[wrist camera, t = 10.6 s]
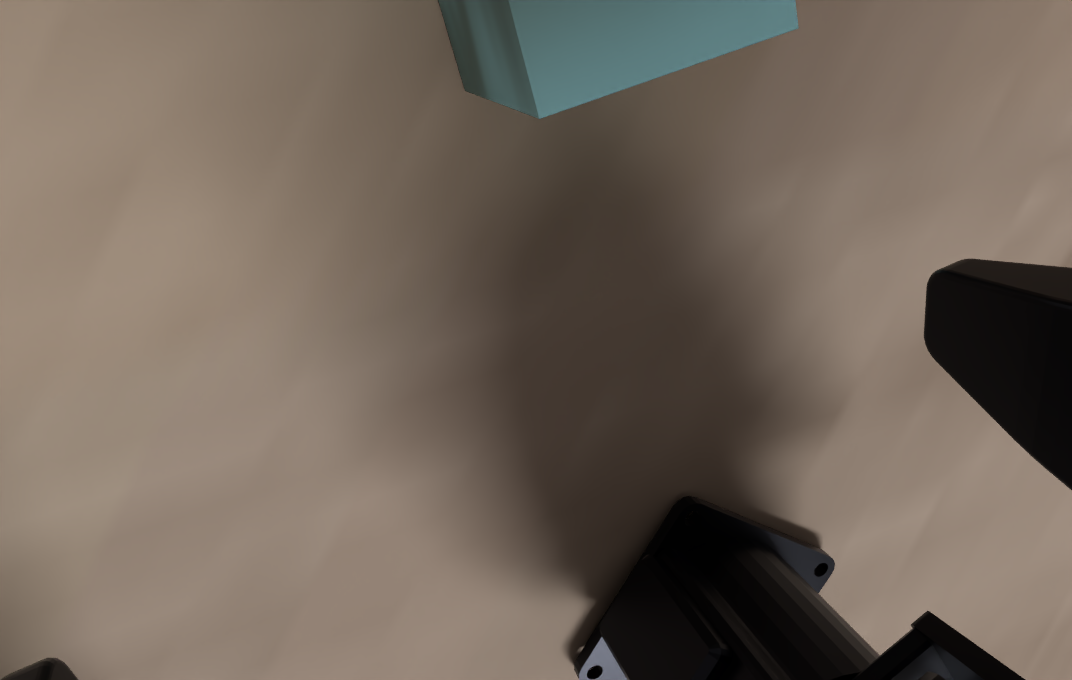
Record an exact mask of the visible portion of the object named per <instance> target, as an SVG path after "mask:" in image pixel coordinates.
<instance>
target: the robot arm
mask: <svg viewBox="0 0 1072 680" xmlns="http://www.w3.org/2000/svg"><path fill="white" fill-rule="evenodd" d="M924 340H925V344H926V347H927V349H928V351H929V353H930V354H931V356H932V357H933V358H934V359H935V361H936V362H937V363H938V364H939V365H940V366H941V367H942V368H943V369H944V370H945V371H946V372H947V373H948V374H949V375H950V376H951V377H952V378H953V379H954V380H955V381H956V382H957V383H958V384H959V385H960V386H961V387H962V388H963V389H964V390H965V391H966V392H967V393H968V394H969V395H970V396H971V397H972V398H973V399H974V400H975V401H976V402H977V403H978V404H979V405H980V406H981V407H982V408H983V409H984V410H985V411H986V412H987V413H988V414H989V415H990V416H991V417H992V418H993V419H994V420H995V421H996V422H997V423H998V424H999V425H1000V426H1001V427H1002V428H1003V429H1004V430H1005V431H1006V432H1007V433H1008V434H1009V435H1010V436H1011V437H1012V438H1013V439H1014V440H1015V441H1016V442H1017V443H1018V444H1019V445H1020V446H1021V447H1022V448H1024V449H1025V450H1026V451H1027V452H1028V453H1029V454H1030V455H1031V456H1032V457H1033V458H1034V459H1035V460H1037V461H1038V462H1039V463H1040V464H1041V465H1042V466H1043V467H1045V468H1046V469H1047V470H1048V471H1049V472H1050V473H1052V474H1053V475H1054V476H1055V477H1056V478H1058V479H1059V480H1060V481H1061V482H1062V483H1064V484H1065V485H1066V486H1067V487H1068V488H1070V489H1071V490H1072V268H1068V267H1057V266H1046V265H1035V264H1024V263H1013V262H1002V261H991V260H980V259H964V260H960V261H957V262H955V263H953V264H951V265H948V266H946V267H944V268H941V269H939V270H937V271H935V272H934V273H933V274H932V275H931V277H930V278H929V280H928V283H927V290H926V307H925V324H924ZM692 511H694V512H693V514H692V515H691V516H690V517H689V518H687V519H685V518H686V516H687V515H688V514H689V513H690V512H692ZM834 565H835V563H834V560H833V559H832V558H831V557H830V556H829V555H828V554H827V553H826V552H825V551H823V550H822V549H820V548H817V547H815V546H812V545H810V544H808V543H805V542H803V541H800V540H798V539H796V538H793V537H791V536H788V535H786V534H784V533H781V532H779V531H776V530H774V529H771V528H769V527H767V526H764V525H762V524H759V523H757V522H755V521H752V520H750V519H747V518H745V517H743V516H740V515H738V514H735V513H733V512H730V511H728V510H726V509H723V508H721V507H718V506H716V505H714V504H711V503H709V502H706V501H704V500H701V499H699V498H697V497H693V496H688V497H684V498H682V499H680V500H679V501H677V503H676V504H675V505H674V506H673V508H672V509H671V511H670V512H669V514H668V515H667V517H666V519H665V520H664V522H663V523H662V525H661V527H660V528H659V530H658V531H657V533H656V534H655V536H654V538H653V539H652V541H651V542H650V544H649V546H648V547H647V549H646V550H645V552H644V553H643V555H642V557H641V558H640V560H639V561H638V563H637V565H636V566H635V568H634V569H633V571H632V572H631V574H630V576H629V577H628V579H627V580H626V582H625V584H624V585H623V587H622V588H621V590H620V591H619V593H618V595H617V596H616V598H615V599H614V601H613V603H612V604H611V606H610V607H609V609H608V610H607V612H606V614H605V615H604V617H603V618H602V620H601V622H600V623H599V625H598V626H597V628H596V629H595V631H594V633H593V634H592V636H591V637H590V639H589V641H588V642H587V644H586V645H585V647H584V648H583V650H582V652H581V653H580V655H579V656H578V658H577V660H576V662H575V664H574V670H575V672H576V674H577V676H578V678H579V680H1025V679H1024V678H1022V677H1021V676H1019V675H1018V674H1017V673H1015V672H1014V671H1012V670H1011V669H1009V668H1008V667H1007V666H1005V665H1004V664H1002V663H1001V662H1000V661H998V660H997V659H995V658H994V657H993V656H991V655H990V654H988V653H987V652H986V651H984V650H983V649H981V648H980V647H979V646H977V645H976V644H974V643H973V642H972V641H970V640H969V639H967V638H966V637H965V636H963V635H962V634H960V633H959V632H957V631H956V630H955V629H953V628H952V627H950V626H949V625H948V624H946V623H945V622H943V621H942V620H941V619H939V618H938V617H936V616H935V615H934V614H932V613H931V612H929V611H927V612H925V613H924V614H923V615H922V616H921V617H919V618H918V619H917V620H916V621H915V622H913V623H912V624H911V626H912V628H913V629H911V630H910V631H909V632H908V633H907V634H905V635H904V636H903V637H902V638H901V639H899V640H898V641H897V642H896V643H895V644H893V645H892V646H891V647H890V648H889V649H887V650H886V651H885V652H884V653H883V654H882V655H879V654H878V653H877V652H876V651H875V650H874V649H873V648H872V647H871V646H870V645H869V644H868V643H867V642H866V641H865V640H864V639H863V638H862V637H861V636H860V635H859V634H858V633H857V632H856V631H855V630H854V629H853V628H852V627H851V626H850V625H849V624H848V623H847V622H846V621H845V620H844V619H843V618H842V617H841V616H840V615H839V614H838V613H837V612H836V611H835V610H834V609H833V608H832V607H831V606H830V605H829V604H828V603H827V602H826V601H825V600H824V599H823V598H822V597H821V596H820V595H819V594H818V593H819V592H820V590H821V589H822V587H823V586H824V584H825V583H826V581H827V580H828V578H829V577H830V576H831V574H832V572H833V570H834ZM595 665H596V666H595ZM593 666H595V667H594V668H593V669H591V670H589V669H590V668H591V667H593ZM1 680H78V679H77V677H76V676H75V675H74V674H73V672H72V671H71V670H70V669H69V667H68V666H67V665H66V664H65V663H64V662H63V661H61V660H59V659H58V658H46V659H43V660H41V661H38V662H36V663H34V664H32V665H29V666H27V667H25V668H22V669H20V670H18V671H15V672H13V673H11V674H9V675H7V676H6V677H4V678H2V679H1Z"/></svg>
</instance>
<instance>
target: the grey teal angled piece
mask: <svg viewBox="0 0 1072 680" xmlns="http://www.w3.org/2000/svg"><path fill="white" fill-rule="evenodd" d="M438 1H439V5H440V8H441V11H442V15H443V18H444V22H445V25H446V28H447V32H448V35H449V38H450V42H451V45H452V48H453V52H454V55H455V58H456V62H457V65H458V69H459V72H460V75H461V79H462V82H463V85H464V89H465V91H467V92H470V93H473V94H475V95H478V96H480V97H483V98H486V99H488V100H491V101H494V102H496V103H499V104H502V105H504V106H507V107H509V108H512V109H515V110H517V111H520V112H523V113H525V114H528V115H531V116H533V117H536V118H538V119H541V118H544V117H546V116H549V115H552V114H555V113H558V112H561V111H564V110H566V109H569V108H572V107H575V106H578V105H581V104H584V103H586V102H589V101H592V100H595V99H598V98H601V97H604V96H606V95H609V94H612V93H615V92H618V91H621V90H624V89H626V88H629V87H632V86H635V85H638V84H641V83H644V82H646V81H649V80H652V79H655V78H658V77H661V76H664V75H666V74H669V73H672V72H675V71H678V70H681V69H684V68H686V67H689V66H692V65H695V64H698V63H701V62H704V61H706V60H709V59H712V58H715V57H718V56H721V55H724V54H726V53H729V52H732V51H735V50H738V49H741V48H744V47H746V46H749V45H752V44H755V43H758V42H761V41H764V40H766V39H769V38H772V37H775V36H778V35H781V34H784V33H786V32H789V31H792V30H795V29H798V20H797V12H796V3H795V0H438Z"/></svg>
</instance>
